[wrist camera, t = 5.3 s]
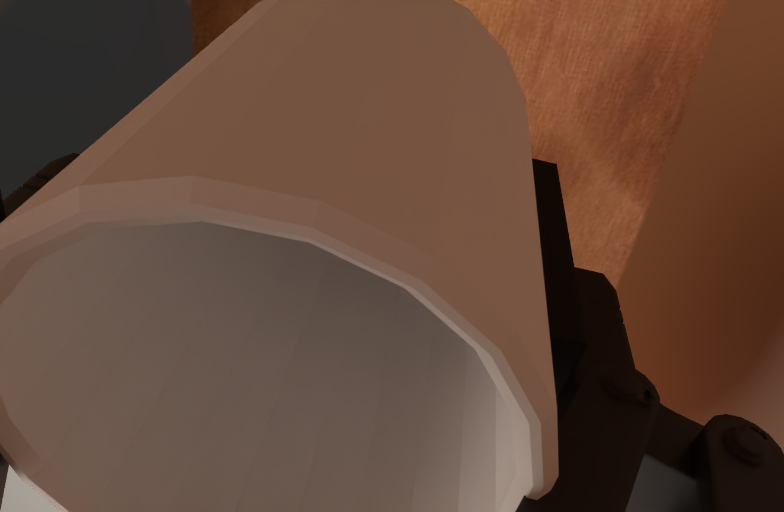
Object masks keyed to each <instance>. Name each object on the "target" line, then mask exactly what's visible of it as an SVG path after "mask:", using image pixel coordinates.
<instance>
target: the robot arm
mask: <svg viewBox="0 0 784 512" xmlns="http://www.w3.org/2000/svg"><path fill="white" fill-rule="evenodd" d="M78 156H80V155H79V154H75V153H72V154H70V155H67V156H64V157H62V158H59V159H56V160H54V161H51V162H50V163H49V164H47V165H46V166H45V167H44V168H43V169H41V170H40V171H39V172H38V173H36V176H35V177H32V178H30V179H29V180H28V181H27V182H25V183H24V185H23V187H19V188H18V189H17V190H16V191H14V192H13V193H12V194H11V195H9V196H8V197H7V198H6V199H5V200H2V195H1V191H0V223H1V222H2V221H4V220H5V219H6V218H7V217H8V216H9V215H11V214H12V213H13V212H14V211H15V210H16V209H18V208H19V207H20V206H21V205H22V204H23V203H25V202H26V201H27V200H28V199H29V198H30V197H32V196H33V195H34V194H35V193H36V192H37V191H39V190H40V189H41V188H42V187H43V186H45V185H46V184H47V183H48V182H49V181H50V180H52V179H53V178H54V177H55V176H56V175H57V174H59V173H60V172H61V171H62V170H63V169H64V168H66V167H67V166H68V165H69V164H70V163H71V162H73V161H74V160H75V159H76V158H77V157H78ZM532 165H533V175H534V185H535V195H536V205H537V215H538V225H539V235H540V245H541V254H542V264H543V274H544V284H545V294H546V304H547V314H548V324H549V334H550V344H551V353H552V363H553V373H554V383H555V393H556V403H557V427H558V466H559V476H558V478H557V480H556V482H555V484H554V486H553V487H552V489H551V491H549V492H548V493H547V494H545V495H544V496H542V497H541V498H539V499H538V500H535V499H530V498H527V497H526V496H525V495H524V496H523V498H522V500H521V502H520V504H519V506H518V507H517V509H516V511H515V512H784V454H783V452H782V450H781V448H780V447H779V446H778V444H777V443H776V442H775V441H774V440H773V438H772V437H771V436H770V435H769V434H767V433H766V432H765V431H763V430H762V429H761V428H760V427H758V426H757V425H756V424H753V423H751V422H749V421H747V420H745V419H743V418H741V417H737V416H733V415H728V414H724V415H717V416H714V417H713V418H712V419H711V420H709V421H708V422H707V424H706V425H705V426H703V425H700V424H698V423H696V422H694V421H692V420H690V419H688V418H686V417H684V416H682V415H680V414H677V413H676V412H674V411H672V410H670V409H668V408H667V407H665V406H663V405H662V404H661V403H660V397H659V395H658V392H657V390H656V388H655V386H654V385H653V384H652V383H651V382H650V381H649V380H648V378H647V377H646V376H645V375H643V374H642V373H640V372H639V371H637V370H636V369H635V366H634V361H633V357H632V353H631V349H630V346H629V342H628V337H627V333H626V329H625V326H624V324H623V317H622V313H621V310H619V309H620V305H619V301H618V297H617V293H616V290H615V289H614V287H613V286H612V285H611V283H610V282H609V281H608V279H607V278H606V277H605V276H604V274H602V273H598V272H594V271H589V270H585V269H581V268H576V267H574V262H573V257H572V251H571V245H570V239H569V233H568V228H567V222H566V216H565V210H564V204H563V198H562V193H561V187H560V181H559V175H558V169H557V164H554V163H550V162H545V161H541V160H537V159H532ZM8 467H9V463H8V462H7V461H6V459H5V458H4V457H3V456H2V454H1V453H0V509H1V504H2V498H3V493H4V488H5V483H6V477H7V472H8Z"/></svg>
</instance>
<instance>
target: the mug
mask: <svg viewBox="0 0 784 512" xmlns="http://www.w3.org/2000/svg"><path fill="white" fill-rule="evenodd" d="M0 453H1V454H2V456H3V457H4V458H5V459H6V461H7V462H8V463H9V464H10V466H11V467H12V468H13V469H14V471H15V472H16V473H17V475H18V476H19V477H20V478H21V479H22V480H23V481H24V482H26V483H27V484H28V485H29V486H31V487H32V488H33V489H34V490H35V491H37V492H38V493H39V494H41V495H42V496H43V497H44V498H45V499H47V500H48V501H49V502H50V503H52V504H53V505H54V506H55V507H57V508H58V509H59V510H60V511H62V512H515V511H516V509H517V507H518V506H519V504H520V502H521V500H522V498H523V496H524V495H525V496H526V497H527V498H530V499H535V500H538V499H539V498H541V497H542V496H544V495H545V494H547V493H548V492H549V491H551V489H552V487H553V486H554V484H555V482H556V480H557V478H558V476H559V466H558V427H557V403H556V393H555V383H554V373H553V363H552V353H551V344H550V334H549V324H548V314H547V304H546V294H545V284H544V274H543V264H542V254H541V245H540V235H539V225H538V215H537V205H536V195H535V185H534V175H533V165H532V155H531V146H530V136H529V126H528V116H527V106H526V99H525V97H524V94H523V92H522V89H521V87H520V85H519V82H518V80H517V77H516V75H515V72H514V70H513V68H512V65H511V63H510V60H509V58H508V55H507V53H506V51H505V50H504V49H503V48H502V46H501V45H500V44H499V43H498V42H497V41H496V40H495V39H494V37H493V36H492V35H491V34H490V33H489V32H488V31H487V29H486V28H485V27H484V26H483V25H482V24H481V23H480V22H479V20H478V19H477V18H476V17H475V16H474V15H473V14H472V12H471V11H470V10H469V9H468V8H466V7H464V6H462V5H461V4H459V3H457V2H455V1H454V0H262V1H261V2H259V3H257V4H256V5H255V6H254V7H253V8H251V9H250V10H249V11H248V12H247V13H246V14H244V15H243V16H242V17H241V18H240V19H238V20H237V21H236V22H235V23H234V24H233V25H231V26H230V27H229V28H228V29H227V30H226V31H224V32H223V33H222V34H221V35H220V36H219V37H217V38H216V39H215V40H214V41H213V42H212V43H210V44H209V45H208V46H207V47H206V48H205V49H203V50H202V51H201V52H200V53H199V54H198V55H196V56H195V57H194V58H193V59H192V60H191V61H189V62H188V63H187V64H186V65H185V66H184V67H182V68H181V69H180V70H179V71H178V72H177V73H176V74H174V75H173V76H172V77H171V78H170V79H168V80H167V81H166V82H165V83H164V84H163V85H161V86H160V87H159V88H158V89H157V90H156V91H154V92H153V93H152V94H151V95H150V96H149V97H147V98H146V99H145V100H144V101H143V102H142V103H140V104H139V105H138V106H137V107H136V108H135V109H133V110H132V111H131V112H130V113H129V114H127V115H126V116H125V117H124V118H123V119H122V120H120V122H118V123H117V124H116V125H115V126H114V127H112V128H111V129H110V130H109V131H108V132H107V133H105V134H104V135H103V136H102V137H101V138H99V139H98V140H97V141H96V142H95V143H94V144H93V145H91V146H90V147H89V148H88V149H87V150H85V151H84V152H83V153H82V154H81V155H80V156H78V157H77V158H76V159H75V160H74V161H73V162H71V163H70V164H69V165H68V166H67V167H66V168H64V169H63V170H62V171H61V172H60V173H59V174H57V175H56V176H55V177H54V178H53V179H52V180H50V181H49V182H48V183H47V184H46V185H45V186H43V187H42V188H41V189H40V190H39V191H37V192H36V193H35V194H34V195H33V196H32V197H30V198H29V199H28V200H27V201H26V202H25V203H23V204H22V205H21V206H20V207H19V208H18V209H16V210H15V211H14V212H13V213H12V214H11V215H9V216H8V217H7V218H6V219H5V220H4V221H2V222H1V223H0Z"/></svg>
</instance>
